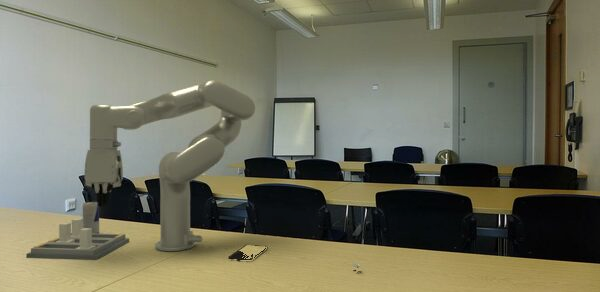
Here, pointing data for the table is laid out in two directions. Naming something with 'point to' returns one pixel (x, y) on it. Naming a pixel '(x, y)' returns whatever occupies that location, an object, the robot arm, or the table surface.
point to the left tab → (86, 239)
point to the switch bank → (69, 251)
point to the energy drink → (91, 216)
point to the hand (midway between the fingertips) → (103, 205)
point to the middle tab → (65, 233)
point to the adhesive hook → (356, 265)
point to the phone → (239, 255)
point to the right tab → (76, 227)
